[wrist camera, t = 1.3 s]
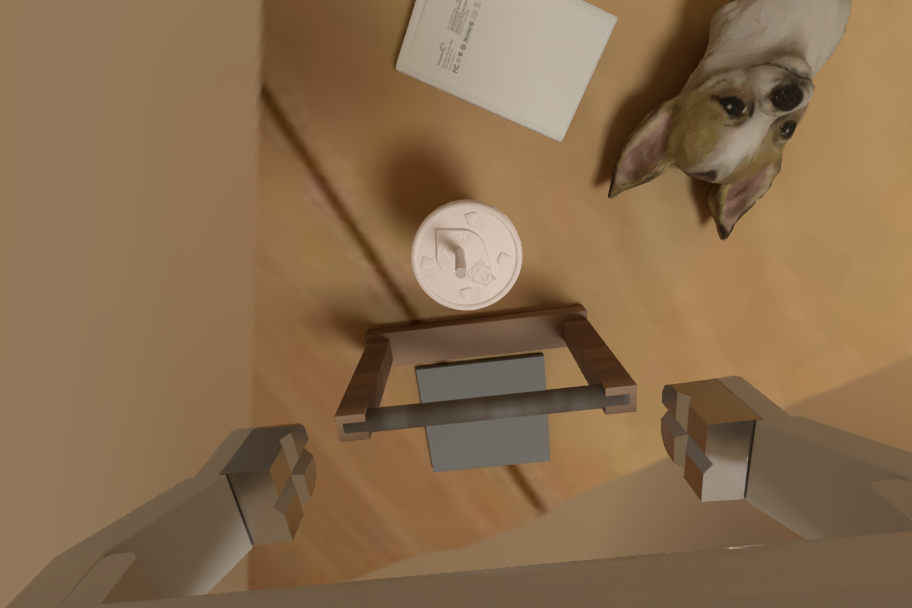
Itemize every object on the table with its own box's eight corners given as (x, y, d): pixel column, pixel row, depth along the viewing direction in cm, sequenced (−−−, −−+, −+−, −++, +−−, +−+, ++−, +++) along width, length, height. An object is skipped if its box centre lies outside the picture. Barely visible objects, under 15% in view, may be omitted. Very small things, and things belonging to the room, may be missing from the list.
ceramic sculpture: (977, -12, 21) (784, 268, 26) (835, 24, 29) (711, 233, 34) (785, -103, 20) (627, 210, 25) (693, -39, 28) (589, 188, 33)
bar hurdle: (368, 329, 36) (329, 409, 25) (582, 305, 36) (639, 376, 25) (374, 361, 37) (340, 450, 26) (583, 338, 37) (638, 420, 26)
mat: (416, 367, 37) (415, 370, 37) (542, 353, 37) (543, 356, 37) (433, 468, 41) (433, 472, 41) (548, 457, 41) (550, 460, 40)
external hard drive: (556, 142, 32) (397, 72, 30) (611, 22, 29) (439, -62, 28) (561, 142, 30) (394, 68, 29) (619, 15, 28) (438, -75, 26)
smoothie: (464, 167, 32) (470, 181, 19) (522, 228, 33) (565, 281, 20) (405, 228, 33) (372, 281, 20) (463, 284, 35) (468, 367, 22)
